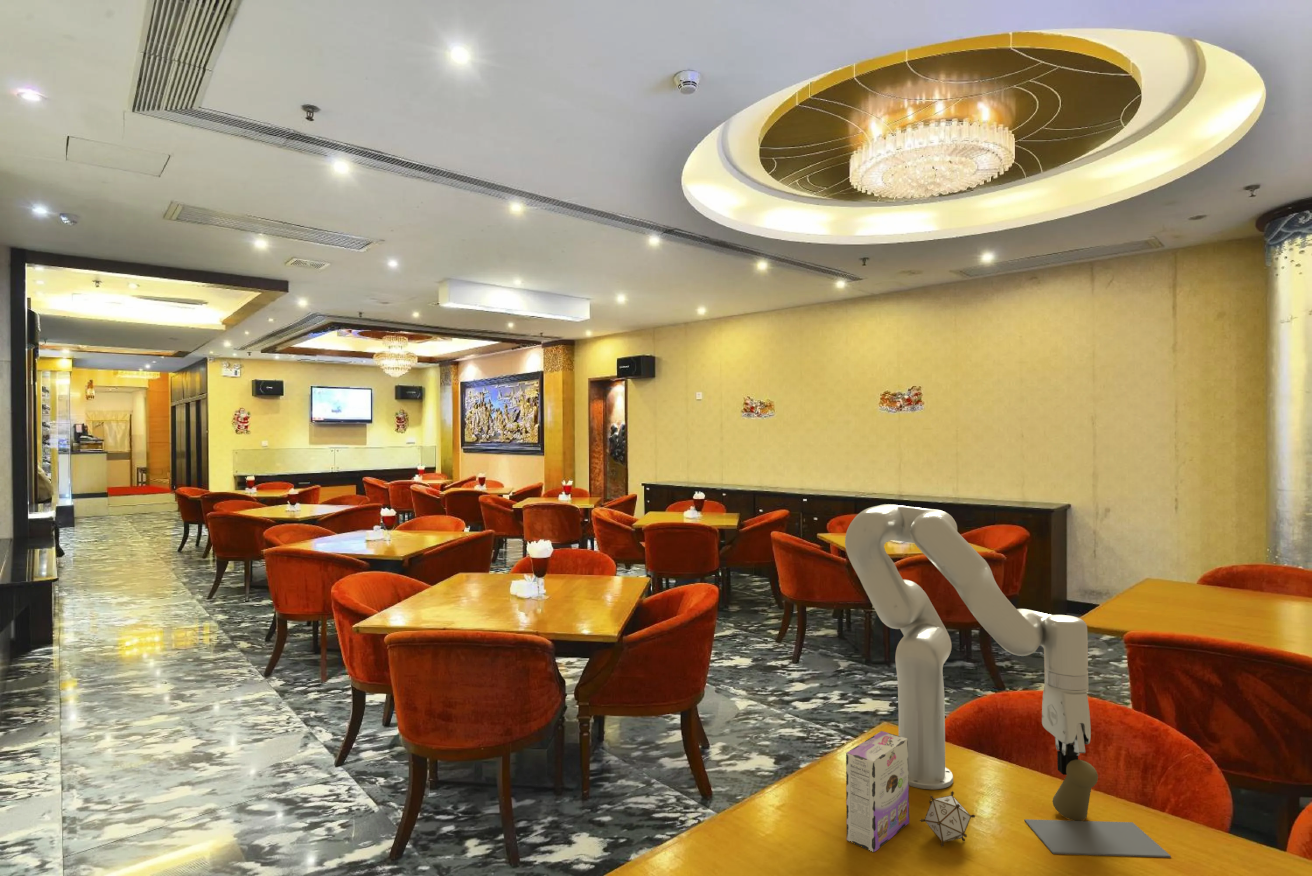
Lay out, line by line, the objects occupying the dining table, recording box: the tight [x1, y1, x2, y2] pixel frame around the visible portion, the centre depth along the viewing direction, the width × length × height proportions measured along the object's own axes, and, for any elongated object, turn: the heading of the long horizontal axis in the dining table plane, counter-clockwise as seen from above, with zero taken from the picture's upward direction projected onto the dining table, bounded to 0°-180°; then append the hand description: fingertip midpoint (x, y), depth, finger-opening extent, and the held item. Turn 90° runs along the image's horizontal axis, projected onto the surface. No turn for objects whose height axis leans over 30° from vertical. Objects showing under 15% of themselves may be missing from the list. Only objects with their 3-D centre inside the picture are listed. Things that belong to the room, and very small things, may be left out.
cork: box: [1052, 758, 1099, 821], centre depth 136 cm, size 6×6×11 cm
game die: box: [919, 790, 976, 848], centre depth 130 cm, size 9×8×10 cm
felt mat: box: [1024, 818, 1172, 858], centre depth 130 cm, size 20×11×1 cm, turn 86°
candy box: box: [845, 730, 910, 853], centre depth 132 cm, size 14×6×16 cm, turn 135°
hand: (1067, 772), depth 139 cm, fingers closed
